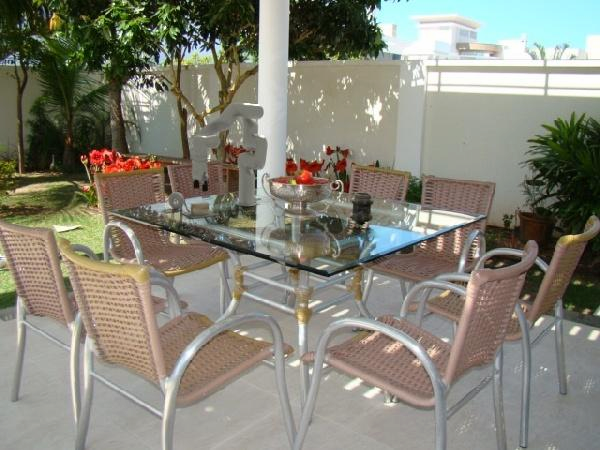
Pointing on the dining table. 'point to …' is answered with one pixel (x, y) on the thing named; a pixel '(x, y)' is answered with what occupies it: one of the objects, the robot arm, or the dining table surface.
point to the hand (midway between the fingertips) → (200, 189)
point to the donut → (172, 202)
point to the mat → (199, 215)
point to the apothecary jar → (361, 208)
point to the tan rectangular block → (199, 208)
